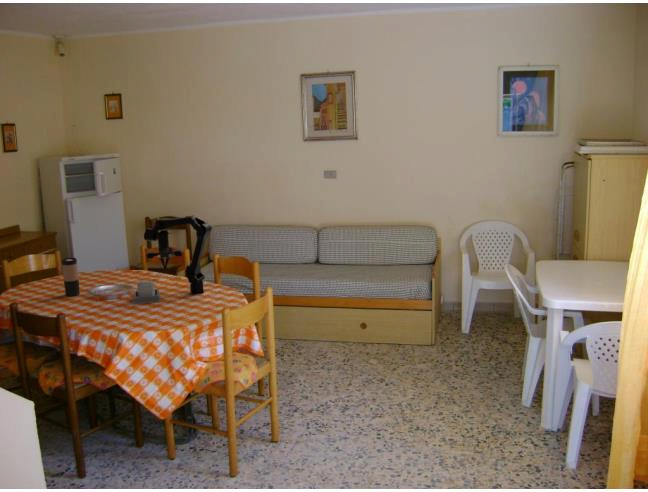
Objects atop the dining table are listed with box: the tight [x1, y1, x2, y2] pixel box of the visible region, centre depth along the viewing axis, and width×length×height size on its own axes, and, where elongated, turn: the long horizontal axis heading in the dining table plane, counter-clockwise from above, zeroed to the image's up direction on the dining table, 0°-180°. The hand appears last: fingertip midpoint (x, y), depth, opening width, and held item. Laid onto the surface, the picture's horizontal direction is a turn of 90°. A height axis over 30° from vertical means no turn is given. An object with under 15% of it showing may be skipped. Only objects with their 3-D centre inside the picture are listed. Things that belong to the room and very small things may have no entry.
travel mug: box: [61, 257, 81, 298], centre depth 361 cm, size 8×8×20 cm
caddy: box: [132, 288, 162, 305], centre depth 353 cm, size 14×16×3 cm
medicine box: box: [136, 280, 155, 297], centre depth 352 cm, size 8×4×9 cm, turn 86°
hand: (165, 268), depth 367 cm, fingers closed
